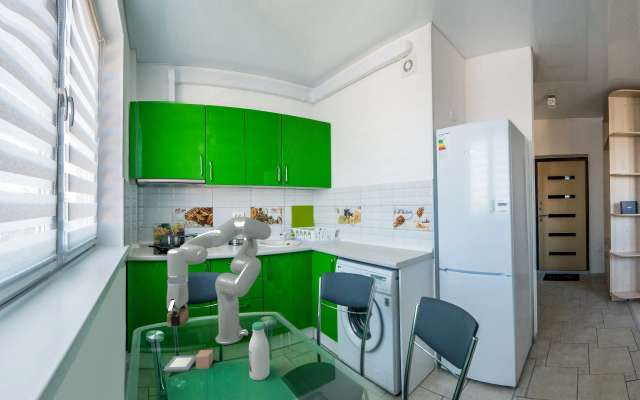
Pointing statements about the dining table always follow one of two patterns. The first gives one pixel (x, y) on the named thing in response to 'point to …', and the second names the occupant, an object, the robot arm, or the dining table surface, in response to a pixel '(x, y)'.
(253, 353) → the milk bottle
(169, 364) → the plate
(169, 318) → the walnut block
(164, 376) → the dining table surface
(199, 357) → the terracotta block
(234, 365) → the dining table surface
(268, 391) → the dining table surface
